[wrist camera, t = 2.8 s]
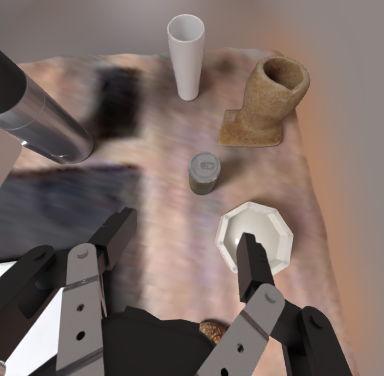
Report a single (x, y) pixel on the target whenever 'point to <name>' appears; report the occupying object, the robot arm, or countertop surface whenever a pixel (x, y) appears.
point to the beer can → (203, 172)
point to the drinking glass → (186, 53)
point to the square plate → (36, 338)
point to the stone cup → (265, 103)
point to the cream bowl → (262, 229)
